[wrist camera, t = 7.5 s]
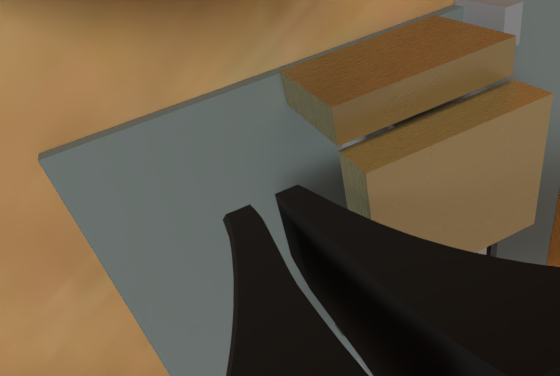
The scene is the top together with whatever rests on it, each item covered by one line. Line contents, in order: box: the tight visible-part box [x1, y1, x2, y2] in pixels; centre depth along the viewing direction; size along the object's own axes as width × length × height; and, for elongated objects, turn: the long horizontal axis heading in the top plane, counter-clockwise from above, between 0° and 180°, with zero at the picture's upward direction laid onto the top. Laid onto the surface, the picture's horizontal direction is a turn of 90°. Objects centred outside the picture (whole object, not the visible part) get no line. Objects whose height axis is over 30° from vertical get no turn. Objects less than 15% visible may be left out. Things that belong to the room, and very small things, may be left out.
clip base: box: [38, 0, 560, 376], centre depth 16 cm, size 17×18×4 cm
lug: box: [280, 15, 553, 253], centre depth 12 cm, size 5×5×4 cm
